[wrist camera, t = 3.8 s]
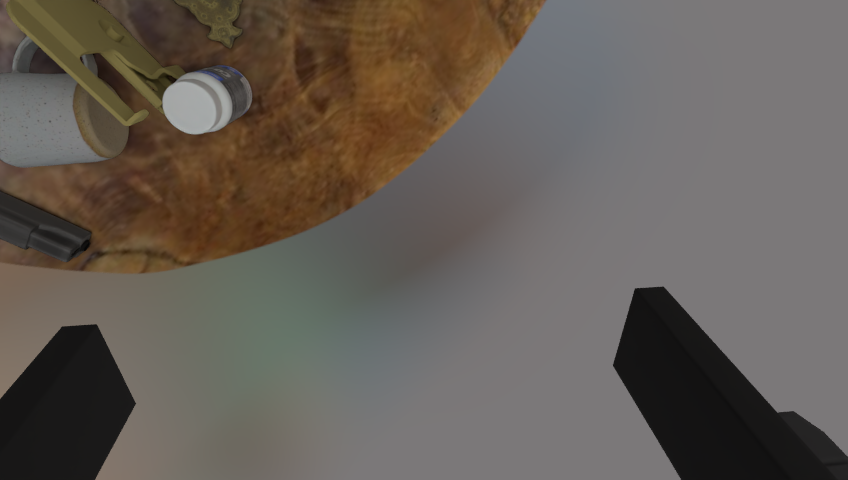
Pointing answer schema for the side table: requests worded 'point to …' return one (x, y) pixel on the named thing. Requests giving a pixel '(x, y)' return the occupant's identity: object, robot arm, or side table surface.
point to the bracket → (93, 50)
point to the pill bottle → (207, 99)
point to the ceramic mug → (54, 117)
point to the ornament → (216, 17)
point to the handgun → (40, 230)
